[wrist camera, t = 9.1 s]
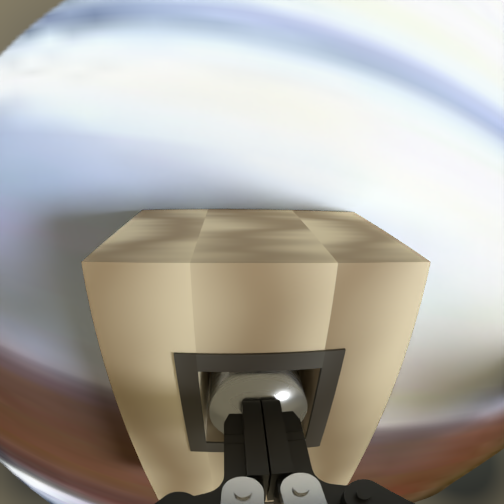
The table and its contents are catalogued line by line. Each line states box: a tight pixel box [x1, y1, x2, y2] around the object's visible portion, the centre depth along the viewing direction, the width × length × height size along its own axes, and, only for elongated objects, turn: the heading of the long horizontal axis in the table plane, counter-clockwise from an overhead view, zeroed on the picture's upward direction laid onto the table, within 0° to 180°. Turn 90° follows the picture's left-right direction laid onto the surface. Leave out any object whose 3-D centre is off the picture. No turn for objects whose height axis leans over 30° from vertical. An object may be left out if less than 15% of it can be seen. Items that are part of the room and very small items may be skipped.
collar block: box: [81, 209, 430, 504], centre depth 18 cm, size 12×26×8 cm, turn 179°
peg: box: [209, 370, 308, 434], centre depth 15 cm, size 4×4×8 cm
